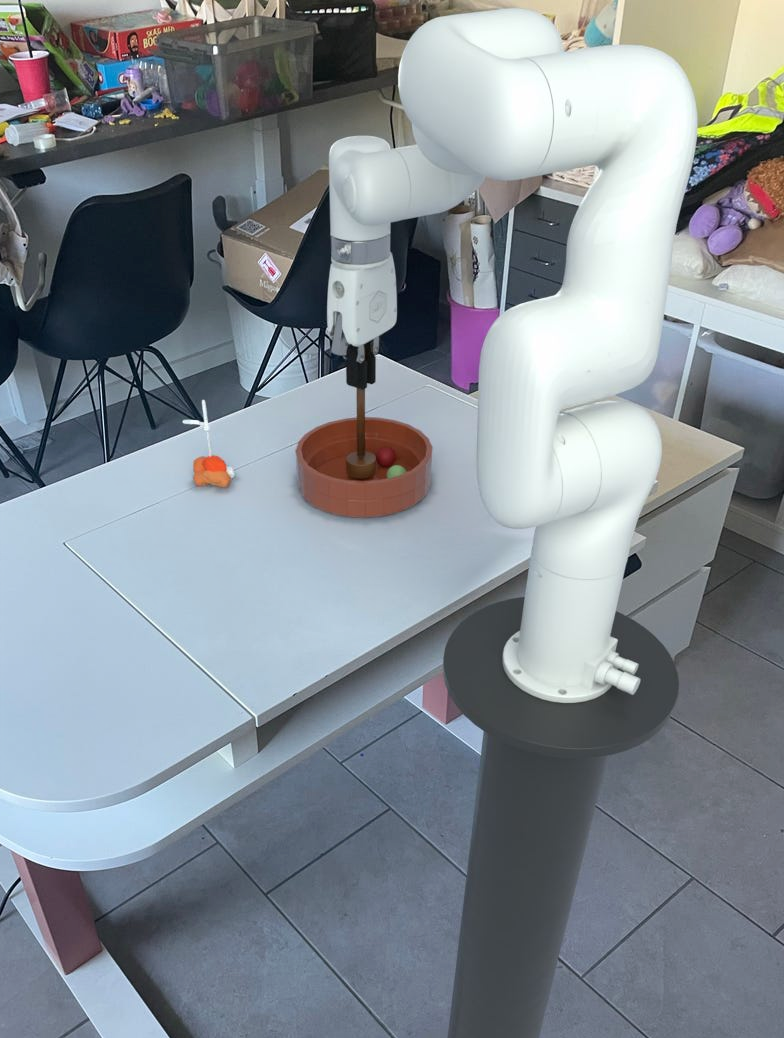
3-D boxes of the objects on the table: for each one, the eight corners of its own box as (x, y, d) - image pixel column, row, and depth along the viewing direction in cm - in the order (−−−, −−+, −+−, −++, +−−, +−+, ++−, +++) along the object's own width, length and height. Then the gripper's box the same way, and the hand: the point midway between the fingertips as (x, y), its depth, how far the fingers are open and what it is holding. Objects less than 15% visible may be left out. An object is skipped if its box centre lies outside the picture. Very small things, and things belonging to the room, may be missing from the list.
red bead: (386, 469, 140) (396, 469, 142) (391, 449, 139) (401, 450, 141) (369, 463, 141) (380, 463, 144) (375, 443, 140) (385, 444, 143)
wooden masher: (381, 469, 140) (383, 343, 127) (364, 481, 137) (364, 354, 125) (358, 460, 142) (357, 336, 129) (340, 473, 139) (337, 347, 127)
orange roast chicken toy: (209, 460, 147) (201, 388, 139) (244, 484, 141) (237, 410, 133) (177, 473, 144) (166, 401, 136) (211, 498, 138) (202, 423, 130)
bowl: (455, 476, 140) (458, 440, 136) (379, 536, 129) (379, 498, 125) (350, 440, 150) (350, 405, 146) (270, 493, 139) (268, 456, 135)
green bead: (410, 483, 138) (411, 465, 136) (399, 492, 136) (399, 473, 134) (394, 477, 139) (394, 459, 137) (382, 485, 138) (382, 467, 136)
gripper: (347, 270, 112) (349, 412, 124) (419, 235, 121) (414, 370, 133) (298, 259, 116) (305, 398, 128) (372, 226, 125) (371, 358, 137)
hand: (360, 383), depth 131 cm, fingers closed on wooden masher, 1 cm apart
